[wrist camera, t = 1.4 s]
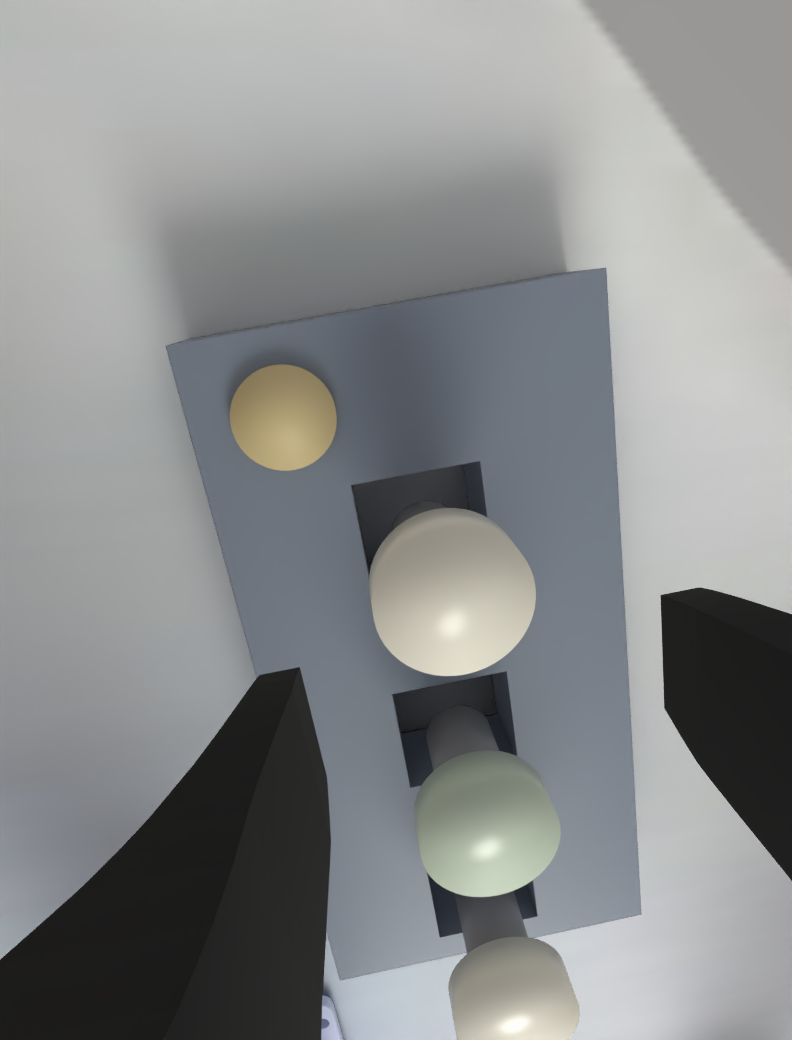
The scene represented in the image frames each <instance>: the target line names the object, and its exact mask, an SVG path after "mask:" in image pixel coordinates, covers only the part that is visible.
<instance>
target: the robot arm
mask: <svg viewBox="0 0 792 1040" xmlns="http://www.w3.org/2000/svg"><path fill="white" fill-rule="evenodd" d="M661 618H662V647H663V677H664V707H665V710H666V711H667V713H668V715H669V717H670V718H671V720H672V722H673V723H674V725H675V727H676V728H677V730H678V732H679V734H680V735H681V737H682V739H683V740H684V742H685V743H686V745H687V747H688V748H689V750H690V751H691V753H692V755H693V756H694V758H695V759H696V761H697V763H698V764H699V765H700V767H701V768H702V769H703V771H704V772H705V773H706V774H707V776H708V777H709V778H710V780H711V781H712V782H713V783H714V785H715V786H716V787H717V788H718V790H719V791H720V792H721V793H722V795H723V796H724V797H725V798H726V800H727V801H728V802H729V804H730V805H731V806H732V807H733V809H734V810H735V811H736V812H737V813H738V815H739V816H740V817H741V818H742V820H743V821H744V822H745V823H746V825H747V826H748V827H749V828H750V830H751V831H752V832H753V833H754V834H755V836H756V837H757V838H758V839H759V841H760V842H761V843H762V844H763V846H764V847H765V848H766V849H767V851H768V852H769V853H770V854H771V855H772V857H773V858H774V859H775V860H776V862H777V863H778V864H779V865H780V867H781V868H782V869H783V870H784V871H785V873H786V874H787V875H788V876H789V878H790V879H791V880H792V614H789V613H786V612H783V611H780V610H776V609H773V608H770V607H767V606H764V605H761V604H758V603H755V602H752V601H748V600H745V599H742V598H739V597H735V596H732V595H728V594H725V593H721V592H717V591H714V590H709V589H704V588H695V589H690V590H685V591H679V592H674V593H669V594H664V595H661ZM330 853H331V832H330V813H329V798H328V783H327V775H326V771H325V767H324V763H323V759H322V755H321V751H320V747H319V743H318V739H317V735H316V731H315V726H314V722H313V718H312V714H311V710H310V706H309V702H308V698H307V694H306V690H305V686H304V682H303V678H302V674H301V670H300V667H297V668H292V669H287V670H282V671H277V672H272V673H267V674H262V675H259V676H258V678H257V679H256V680H255V682H254V683H253V684H252V686H251V687H250V688H249V690H248V691H247V692H246V694H245V695H244V697H243V698H242V699H241V701H240V702H239V704H238V705H237V706H236V708H235V709H234V711H233V712H232V713H231V715H230V716H229V718H228V719H227V720H226V722H225V723H224V725H223V726H222V727H221V729H220V730H219V732H218V733H217V734H216V736H215V737H214V738H213V740H212V741H211V742H210V744H209V745H208V746H207V748H206V749H205V750H204V752H203V753H202V754H201V756H200V757H199V758H198V760H197V761H196V762H195V764H194V765H193V766H192V767H191V769H190V770H189V771H188V772H187V773H186V775H185V776H184V777H183V778H182V779H181V781H180V782H179V783H178V784H177V785H176V787H175V788H174V789H173V790H172V791H171V793H170V794H169V795H168V796H167V797H166V799H165V800H164V801H163V802H162V803H161V805H160V806H159V807H158V808H157V809H156V811H155V812H154V813H153V814H152V815H151V816H150V818H149V819H148V820H147V821H146V822H145V823H144V824H143V825H142V826H141V827H140V829H139V830H138V831H137V832H136V833H135V834H134V835H133V836H132V837H131V838H130V839H129V840H128V841H127V842H126V844H125V845H124V846H123V847H122V848H121V849H120V850H119V851H118V852H117V853H116V854H115V855H114V856H113V857H112V858H111V859H110V860H109V861H108V862H107V863H106V864H105V865H104V866H103V867H102V868H101V869H100V870H99V871H98V872H97V873H96V874H95V875H94V876H93V877H92V878H91V879H90V880H89V881H88V882H87V883H86V884H85V885H84V886H82V887H81V888H80V889H79V890H78V891H77V892H76V893H75V894H74V895H73V896H72V897H71V898H69V899H68V900H67V901H66V902H65V903H64V904H63V905H62V906H60V907H59V908H58V909H57V910H56V911H55V912H54V913H53V914H51V915H50V916H49V917H48V918H47V919H46V920H45V921H44V922H42V923H41V924H40V925H39V926H38V927H37V928H36V929H35V930H33V931H32V932H31V933H30V934H29V935H28V936H27V937H25V938H24V939H23V940H22V941H21V942H20V943H19V944H18V945H16V946H15V947H14V948H13V949H12V950H11V951H10V952H9V953H7V954H6V955H5V956H4V957H3V958H2V959H1V960H0V1040H344V1039H343V1036H342V1032H341V1029H340V1025H339V1022H338V1018H337V1015H336V1011H335V1008H334V1004H333V1001H332V1000H331V999H330V998H329V997H327V996H324V995H323V978H324V961H325V944H326V926H327V909H328V892H329V873H330Z"/></svg>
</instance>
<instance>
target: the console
mask: <svg viewBox="0 0 792 1040" xmlns="http://www.w3.org/2000/svg"><path fill="white" fill-rule="evenodd" d="M166 349H167V353H168V356H169V360H170V364H171V367H172V371H173V375H174V378H175V382H176V385H177V389H178V393H179V396H180V400H181V404H182V407H183V411H184V415H185V418H186V422H187V426H188V429H189V433H190V436H191V440H192V444H193V447H194V451H195V455H196V458H197V462H198V466H199V469H200V473H201V476H202V480H203V484H204V487H205V491H206V495H207V498H208V502H209V506H210V509H211V513H212V517H213V520H214V524H215V527H216V531H217V535H218V538H219V542H220V546H221V549H222V553H223V557H224V560H225V564H226V567H227V571H228V575H229V578H230V582H231V586H232V589H233V593H234V597H235V600H236V604H237V608H238V611H239V615H240V618H241V622H242V626H243V629H244V633H245V637H246V640H247V644H248V648H249V651H250V655H251V658H252V662H253V666H254V669H255V673H256V677H257V678H258V676H259V675H262V674H267V673H272V672H277V671H282V670H287V669H292V668H297V667H300V670H301V674H302V678H303V682H304V686H305V690H306V694H307V698H308V702H309V706H310V710H311V714H312V718H313V722H314V726H315V731H316V735H317V739H318V743H319V747H320V751H321V755H322V759H323V763H324V767H325V771H326V775H327V783H328V798H329V813H330V832H331V853H330V873H329V892H328V909H327V926H326V931H327V935H328V939H329V942H330V946H331V950H332V953H333V957H334V961H335V964H336V968H337V972H338V975H339V979H340V980H345V979H349V978H354V977H358V976H363V975H368V974H372V973H377V972H381V971H386V970H390V969H395V968H400V967H404V966H409V965H413V964H418V963H422V962H427V961H431V960H436V959H441V958H445V957H450V956H454V955H459V954H463V953H467V951H466V947H465V942H464V937H463V933H462V928H461V923H460V919H459V914H458V909H457V905H456V900H455V893H454V892H451V891H449V890H447V889H445V888H443V887H442V886H440V885H439V884H438V883H436V882H435V881H434V880H433V879H432V878H431V877H430V875H429V874H428V873H427V871H426V869H425V867H424V865H423V863H422V859H421V855H420V849H419V843H418V837H417V831H416V825H415V819H414V804H415V799H416V796H417V794H418V791H419V789H420V787H421V786H422V784H423V783H424V781H425V780H426V778H427V777H428V776H429V775H430V774H431V773H432V772H433V766H432V762H431V758H430V753H429V749H428V744H427V740H426V732H427V728H426V729H421V730H416V731H412V732H407V733H402V734H401V731H400V726H399V721H398V716H397V710H396V705H395V700H394V695H393V694H396V693H401V692H406V691H411V690H416V689H421V688H426V687H431V686H436V685H441V684H446V683H451V682H456V681H460V680H465V679H470V678H475V677H480V676H485V675H490V674H492V678H493V685H494V692H495V700H496V707H497V714H495V715H490V716H485V717H486V719H487V720H488V723H489V726H490V728H491V731H492V733H493V736H494V739H495V741H496V744H497V746H498V749H499V751H502V752H507V753H510V754H513V755H515V756H517V757H520V758H522V759H523V760H525V761H526V762H528V763H529V764H530V765H531V766H532V767H533V768H534V769H535V770H536V771H537V773H538V774H539V776H540V778H541V780H542V782H543V784H544V786H545V788H546V791H547V793H548V795H549V797H550V800H551V802H552V804H553V806H554V809H555V811H556V813H557V816H558V818H559V822H560V827H561V836H560V843H559V846H558V849H557V851H556V854H555V856H554V858H553V859H552V861H551V862H550V864H549V865H548V866H547V867H546V869H545V870H544V871H543V872H542V873H541V874H540V875H539V876H537V877H536V878H535V879H534V880H532V881H531V882H529V883H528V884H526V885H524V886H522V887H520V888H518V889H516V890H514V894H515V897H516V900H517V903H518V906H519V910H520V913H521V916H522V919H523V922H524V925H525V929H526V932H527V935H528V937H529V938H536V937H541V936H545V935H550V934H555V933H559V932H564V931H568V930H573V929H577V928H582V927H586V926H591V925H596V924H600V923H605V922H609V921H614V920H618V919H623V918H628V917H632V916H637V915H641V898H640V880H639V861H638V843H637V825H636V806H635V788H634V770H633V751H632V733H631V715H630V697H629V678H628V660H627V642H626V623H625V605H624V587H623V568H622V550H621V532H620V513H619V495H618V477H617V458H616V440H615V422H614V403H613V385H612V367H611V348H610V330H609V312H608V293H607V275H606V268H601V269H592V270H583V271H573V272H566V273H560V274H554V275H549V276H543V277H537V278H532V279H526V280H520V281H515V282H509V283H503V284H498V285H492V286H486V287H481V288H475V289H470V290H464V291H458V292H453V293H447V294H441V295H436V296H430V297H424V298H419V299H413V300H407V301H402V302H396V303H390V304H385V305H379V306H373V307H368V308H362V309H356V310H351V311H345V312H339V313H334V314H328V315H323V316H317V317H311V318H306V319H300V320H294V321H289V322H283V323H277V324H272V325H266V326H260V327H255V328H249V329H243V330H238V331H232V332H226V333H221V334H215V335H209V336H204V337H198V338H192V339H187V340H184V341H181V342H177V343H174V344H170V345H167V346H166ZM461 464H464V470H465V478H466V485H467V492H468V500H469V507H470V511H474V512H476V513H479V514H481V515H484V516H485V517H487V518H489V519H490V520H492V521H493V522H495V523H496V524H497V525H498V526H500V527H501V528H502V530H503V531H504V532H505V533H506V534H507V535H508V536H509V538H510V539H511V540H512V542H513V543H514V544H515V546H516V547H517V548H518V550H519V551H520V552H521V554H522V555H523V556H524V558H525V559H526V561H527V563H528V565H529V567H530V569H531V571H532V574H533V577H534V582H535V587H536V602H535V609H534V613H533V617H532V620H531V622H530V625H529V627H528V629H527V631H526V632H525V634H524V636H523V637H522V639H521V640H520V641H519V643H518V644H517V645H516V646H515V647H514V648H513V649H512V650H511V651H510V652H509V653H508V654H507V655H506V656H504V657H503V658H502V659H500V660H499V661H497V662H496V663H494V664H492V665H490V666H488V667H487V668H484V669H482V670H479V671H476V672H473V673H469V674H465V675H458V676H438V675H432V674H427V673H423V672H421V671H418V670H415V669H413V668H411V667H409V666H407V665H405V664H404V663H402V662H401V661H400V660H398V659H397V658H396V657H395V656H394V655H393V654H392V653H391V652H390V651H389V650H388V649H387V648H386V646H385V645H384V643H383V642H382V640H381V639H380V636H379V634H378V632H377V630H376V626H375V623H374V618H373V612H372V605H371V598H370V590H369V575H370V569H371V565H369V566H368V562H367V557H366V552H365V547H364V542H363V537H362V532H361V527H360V521H359V516H358V511H357V506H356V501H355V496H354V491H353V486H352V485H355V484H360V483H366V482H371V481H376V480H382V479H387V478H392V477H398V476H403V475H408V474H414V473H419V472H424V471H430V470H435V469H440V468H446V467H451V466H456V465H461Z"/></svg>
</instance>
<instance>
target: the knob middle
mask: <svg viewBox="0 0 792 1040" xmlns="http://www.w3.org/2000/svg"><path fill="white" fill-rule="evenodd" d="M426 740H427V744H428V749H429V753H430V758H431V762H432V766H433V772H432V773H431V774H430V775H429V776H428V777H427V778H426V780H425V781H424V783H423V784H422V786H421V787H420V789H419V791H418V794H417V796H416V799H415V804H414V819H415V825H416V831H417V837H418V843H419V849H420V855H421V859H422V863H423V865H424V867H425V869H426V871H427V873H428V874H429V875H430V877H431V878H432V879H433V880H434V881H435V882H436V883H438V884H439V885H440V886H442V887H443V888H445V889H447V890H449V891H451V892H454V893H456V894H460V895H464V896H470V897H491V896H497V895H501V894H505V893H508V892H511V891H514V890H516V889H518V888H520V887H522V886H524V885H526V884H528V883H529V882H531V881H532V880H534V879H535V878H536V877H537V876H539V875H540V874H541V873H542V872H543V871H544V870H545V869H546V867H547V866H548V865H549V864H550V862H551V861H552V859H553V858H554V856H555V854H556V851H557V849H558V846H559V843H560V836H561V827H560V822H559V818H558V816H557V813H556V811H555V809H554V806H553V804H552V802H551V800H550V797H549V795H548V793H547V791H546V788H545V786H544V784H543V782H542V780H541V778H540V776H539V774H538V773H537V771H536V770H535V769H534V768H533V767H532V766H531V765H530V764H529V763H528V762H526V761H525V760H523V759H522V758H520V757H517V756H515V755H513V754H510V753H507V752H502V751H499V749H498V746H497V744H496V741H495V739H494V736H493V733H492V731H491V728H490V726H489V723H488V720H487V719H486V717H485V716H484V714H482V713H481V712H480V711H479V710H477V709H475V708H473V707H469V706H453V707H449V708H447V709H444V710H442V711H441V712H439V713H438V714H437V715H436V716H435V717H434V718H433V719H432V720H431V722H430V723H429V725H428V728H427V732H426Z"/></svg>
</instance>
